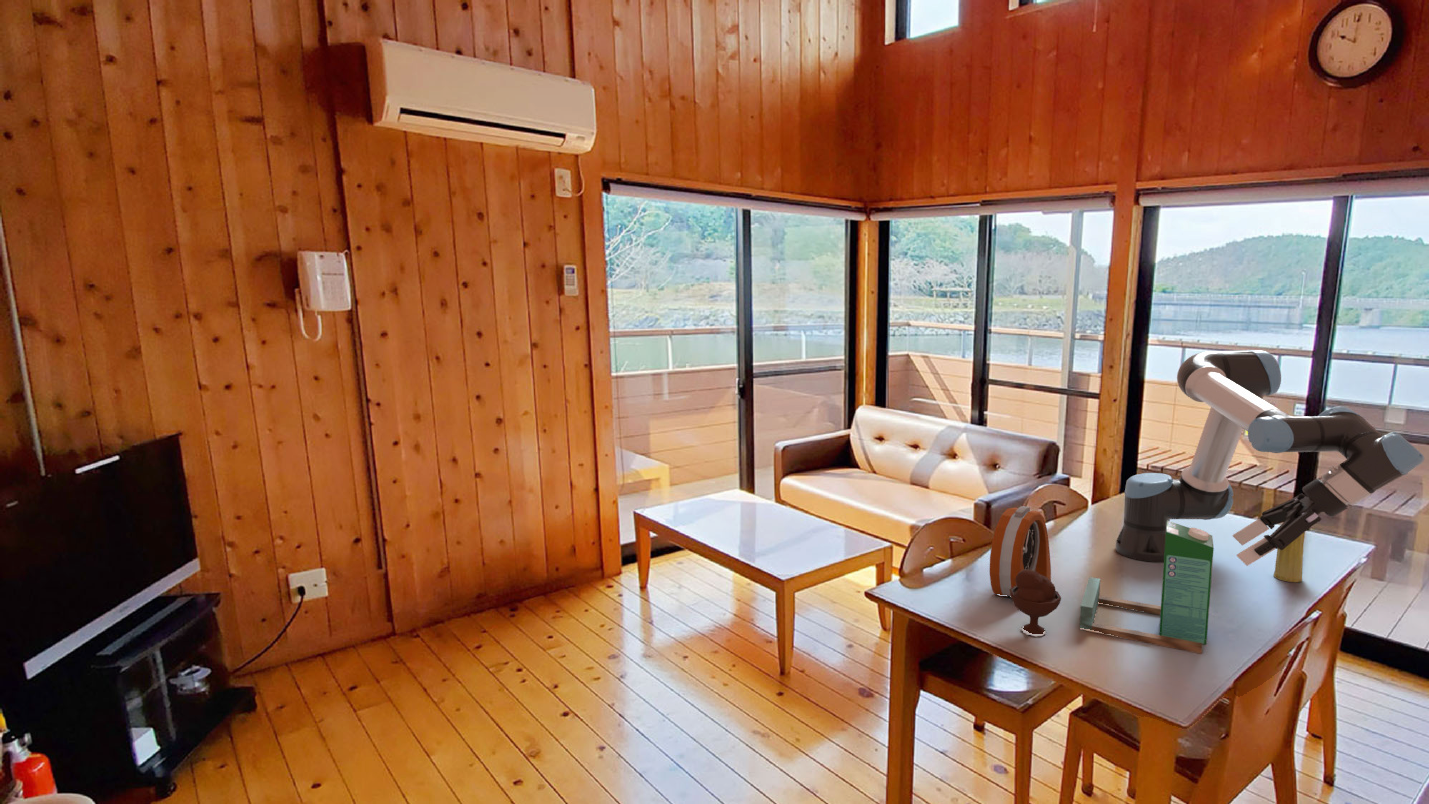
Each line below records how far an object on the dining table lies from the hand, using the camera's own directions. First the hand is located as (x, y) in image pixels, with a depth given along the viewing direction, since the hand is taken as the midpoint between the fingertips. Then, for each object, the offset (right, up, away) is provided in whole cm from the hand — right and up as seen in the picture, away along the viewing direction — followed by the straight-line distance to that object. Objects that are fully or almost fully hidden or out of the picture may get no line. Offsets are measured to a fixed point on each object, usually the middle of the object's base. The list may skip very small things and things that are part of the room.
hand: (1239, 550), depth 162 cm
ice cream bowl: (-40, -22, +11) cm, 47 cm away
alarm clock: (-33, -18, +34) cm, 51 cm away
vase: (+38, -15, +35) cm, 54 cm away
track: (-14, -20, +13) cm, 28 cm away
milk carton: (-7, -21, +9) cm, 24 cm away
